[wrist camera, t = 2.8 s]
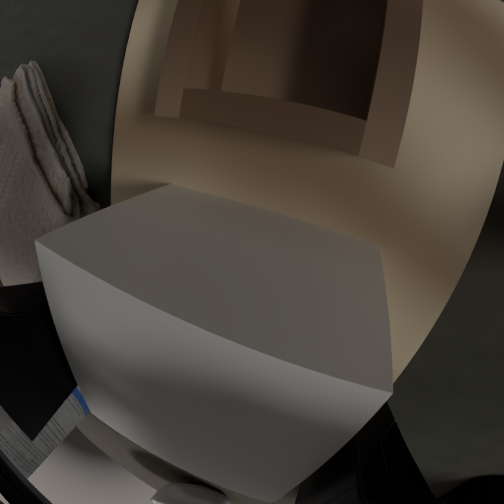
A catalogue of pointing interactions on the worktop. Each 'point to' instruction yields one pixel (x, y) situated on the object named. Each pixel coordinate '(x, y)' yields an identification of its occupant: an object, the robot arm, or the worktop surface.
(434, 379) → the worktop surface
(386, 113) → the board
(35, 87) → the washcloth
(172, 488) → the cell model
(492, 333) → the worktop surface
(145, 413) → the grey rounded cube
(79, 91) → the worktop surface
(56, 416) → the supplement tub
